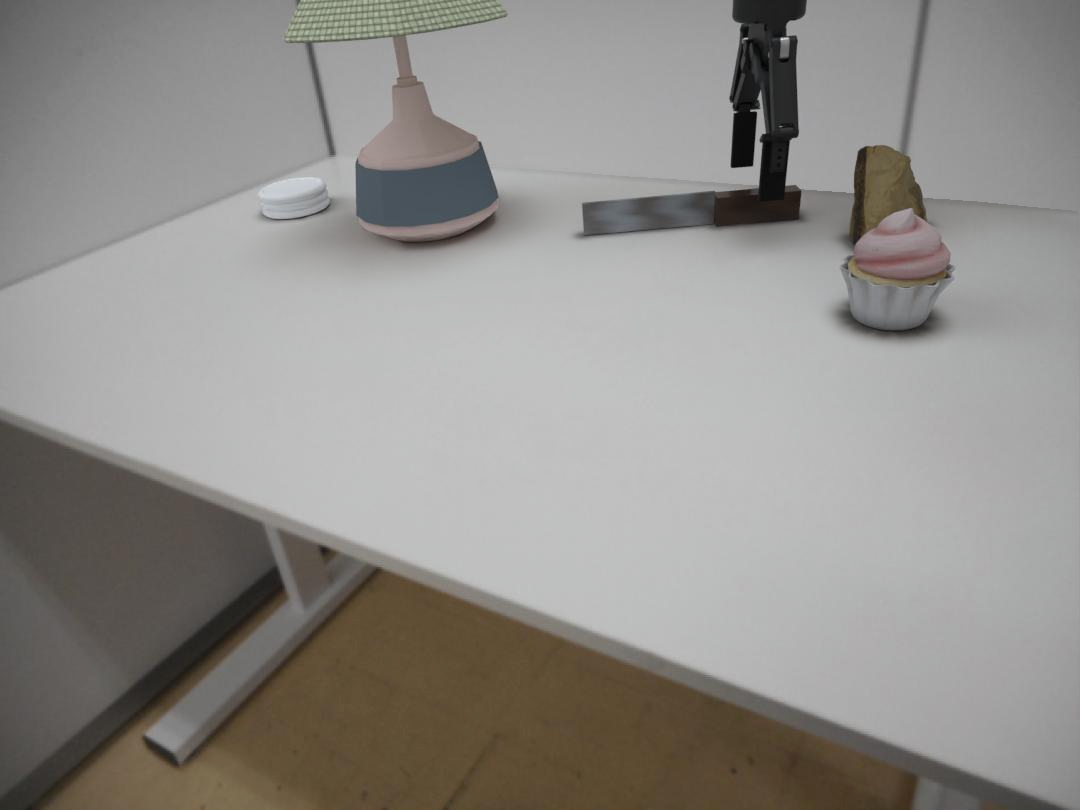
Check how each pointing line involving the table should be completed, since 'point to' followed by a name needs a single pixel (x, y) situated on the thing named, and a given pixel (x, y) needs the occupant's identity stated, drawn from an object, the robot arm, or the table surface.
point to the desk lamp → (410, 123)
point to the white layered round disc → (294, 198)
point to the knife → (688, 210)
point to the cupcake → (897, 272)
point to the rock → (882, 189)
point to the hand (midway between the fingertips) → (755, 182)
